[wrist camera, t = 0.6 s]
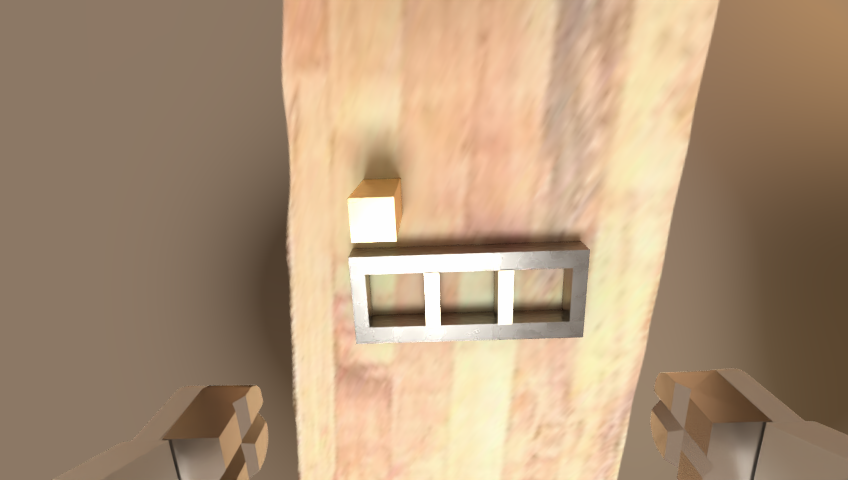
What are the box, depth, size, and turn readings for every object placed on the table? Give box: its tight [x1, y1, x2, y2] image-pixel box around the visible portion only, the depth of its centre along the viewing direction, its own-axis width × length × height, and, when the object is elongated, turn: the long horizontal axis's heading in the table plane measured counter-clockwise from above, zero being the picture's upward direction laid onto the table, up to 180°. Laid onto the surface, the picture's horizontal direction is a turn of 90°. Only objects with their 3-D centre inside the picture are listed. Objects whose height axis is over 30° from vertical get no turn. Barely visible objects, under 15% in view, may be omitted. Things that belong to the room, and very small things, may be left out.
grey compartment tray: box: [348, 241, 590, 344], centre depth 49 cm, size 10×26×3 cm, turn 92°
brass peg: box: [348, 178, 402, 243], centre depth 43 cm, size 4×4×10 cm
